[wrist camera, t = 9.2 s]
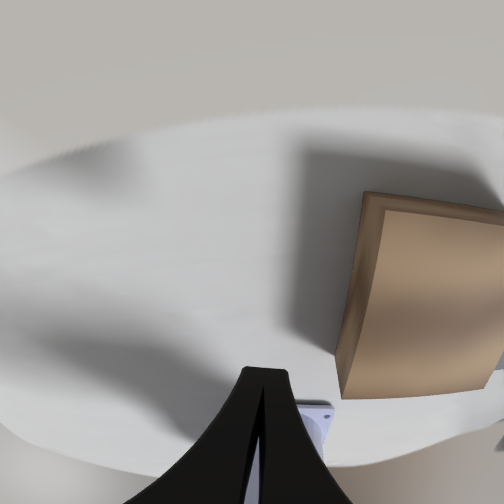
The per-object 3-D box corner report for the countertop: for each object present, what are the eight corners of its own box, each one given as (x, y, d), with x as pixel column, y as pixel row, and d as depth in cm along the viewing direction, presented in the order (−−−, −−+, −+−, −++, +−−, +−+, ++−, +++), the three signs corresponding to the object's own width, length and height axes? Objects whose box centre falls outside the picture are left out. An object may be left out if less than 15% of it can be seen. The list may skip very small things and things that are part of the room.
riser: (463, 353, 20) (483, 388, 16) (334, 356, 20) (341, 399, 17) (508, 213, 15) (545, 233, 12) (363, 191, 16) (385, 210, 13)
